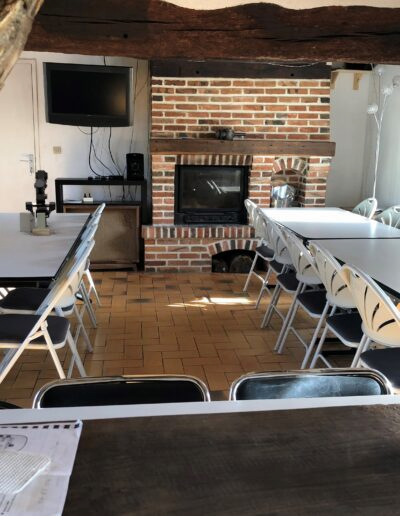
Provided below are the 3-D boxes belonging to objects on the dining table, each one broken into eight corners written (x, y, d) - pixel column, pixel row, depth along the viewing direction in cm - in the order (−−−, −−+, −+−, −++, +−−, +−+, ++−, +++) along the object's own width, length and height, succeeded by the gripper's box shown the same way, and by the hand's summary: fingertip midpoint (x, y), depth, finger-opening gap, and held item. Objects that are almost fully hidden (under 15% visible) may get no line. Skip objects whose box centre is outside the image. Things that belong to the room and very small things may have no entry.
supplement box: (30, 232, 352) (29, 213, 349) (19, 231, 353) (19, 212, 351) (35, 230, 359) (35, 211, 356) (25, 229, 361) (24, 211, 358)
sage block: (37, 228, 348) (36, 212, 345) (45, 228, 349) (45, 212, 347) (37, 229, 343) (36, 214, 341) (45, 229, 344) (45, 214, 342)
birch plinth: (34, 233, 351) (34, 227, 350) (50, 233, 353) (50, 227, 352) (32, 236, 341) (32, 230, 340) (48, 236, 343) (48, 230, 342)
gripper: (25, 189, 341) (25, 208, 334) (55, 189, 347) (56, 208, 339) (25, 200, 351) (25, 219, 343) (55, 200, 356) (56, 219, 348)
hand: (41, 216), depth 343 cm, fingers open, 9 cm apart
